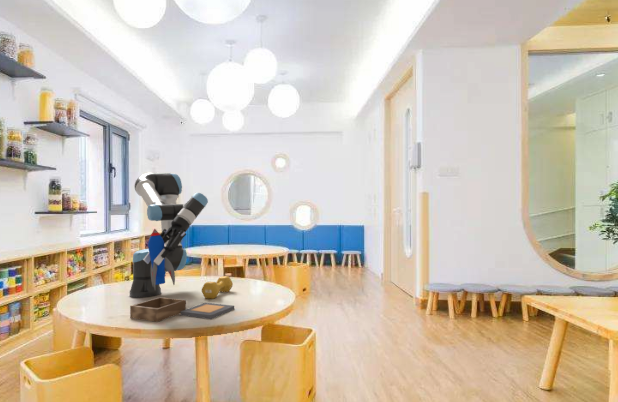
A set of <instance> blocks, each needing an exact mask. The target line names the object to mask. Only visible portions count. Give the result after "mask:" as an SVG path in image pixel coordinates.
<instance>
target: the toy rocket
mask: <svg viewBox="0 0 618 402" xmlns="http://www.w3.org/2000/svg"><path fill="white" fill-rule="evenodd" d="M160 234H161V233H160V232H159V231H158V230H157V229H156V228H154V229H153V230H152V232H151V234H150V237H149V239H148V242H147V246H148V248H147V249H149V254H150V259H151V281H152V285H153V284H154V288H155V285H159V286H160V285H163V284H165V283H166V273H168V274H169V276H170V278H171V282H172V284H173V286H175V282H176V273H175V272H176V271H174V268H173V266H172V264H171V262H170V261H169V260H168V259H167V258H166V257H165V258H164V259H163V260H162V262H161V263H160V264H159V265H157V264H156V263H155V262H154V260H155V259H156V257H157V256H158V255H159V253H160V252H161V251H162V250H163V249H165V248H164V241H163V239H162V237H161V236H160ZM165 269H166V270H167V271H168V272H165Z"/></svg>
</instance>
